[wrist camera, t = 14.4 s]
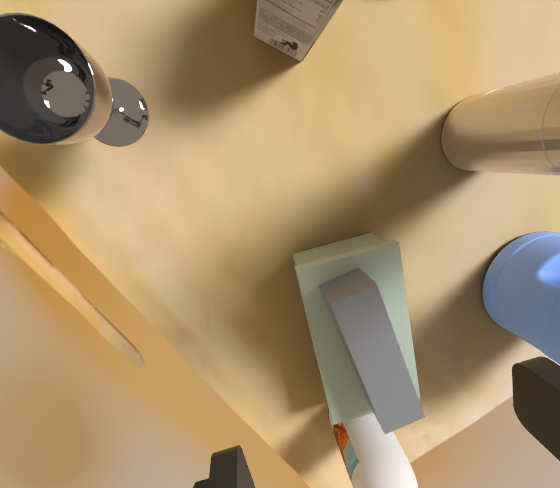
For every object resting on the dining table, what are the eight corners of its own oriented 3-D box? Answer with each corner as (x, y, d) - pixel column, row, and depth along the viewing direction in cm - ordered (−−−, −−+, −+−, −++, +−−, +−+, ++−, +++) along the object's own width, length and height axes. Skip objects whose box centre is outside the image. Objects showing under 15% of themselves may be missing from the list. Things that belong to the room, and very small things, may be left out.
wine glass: (125, 164, 37) (53, 168, 23) (61, 116, 35) (-63, 87, 21) (166, 109, 36) (118, 76, 22) (103, 56, 34) (4, -19, 20)
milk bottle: (341, 382, 49) (408, 528, 29) (384, 396, 50) (473, 542, 31) (319, 423, 50) (369, 587, 31) (361, 434, 52) (434, 597, 32)
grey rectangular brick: (358, 267, 36) (376, 283, 32) (403, 386, 41) (424, 416, 37) (318, 285, 36) (330, 304, 31) (368, 402, 41) (384, 434, 37)
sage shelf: (373, 229, 43) (398, 242, 36) (395, 365, 49) (420, 398, 42) (287, 252, 42) (296, 270, 36) (320, 388, 48) (333, 424, 42)
